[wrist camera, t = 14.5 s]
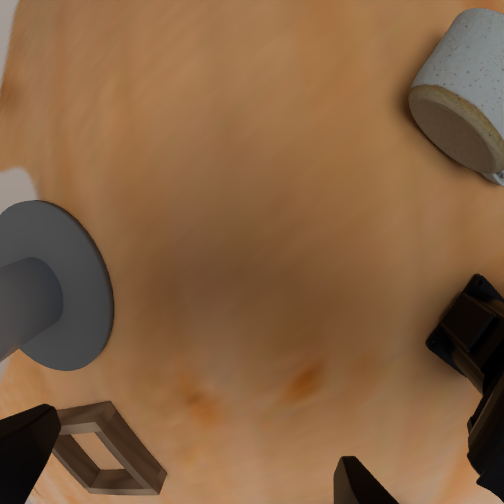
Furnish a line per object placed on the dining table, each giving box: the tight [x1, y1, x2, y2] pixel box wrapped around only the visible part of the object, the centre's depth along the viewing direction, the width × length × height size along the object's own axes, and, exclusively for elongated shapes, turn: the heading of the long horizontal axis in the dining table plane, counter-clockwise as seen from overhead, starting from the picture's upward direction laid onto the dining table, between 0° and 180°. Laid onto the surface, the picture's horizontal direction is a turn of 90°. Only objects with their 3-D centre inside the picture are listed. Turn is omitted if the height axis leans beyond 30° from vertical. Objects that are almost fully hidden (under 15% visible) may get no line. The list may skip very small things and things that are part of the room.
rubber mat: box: [0, 200, 114, 371], centre depth 21 cm, size 14×14×1 cm
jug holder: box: [52, 401, 167, 495], centre depth 23 cm, size 10×10×3 cm
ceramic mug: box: [408, 8, 504, 186], centre depth 13 cm, size 11×8×8 cm
